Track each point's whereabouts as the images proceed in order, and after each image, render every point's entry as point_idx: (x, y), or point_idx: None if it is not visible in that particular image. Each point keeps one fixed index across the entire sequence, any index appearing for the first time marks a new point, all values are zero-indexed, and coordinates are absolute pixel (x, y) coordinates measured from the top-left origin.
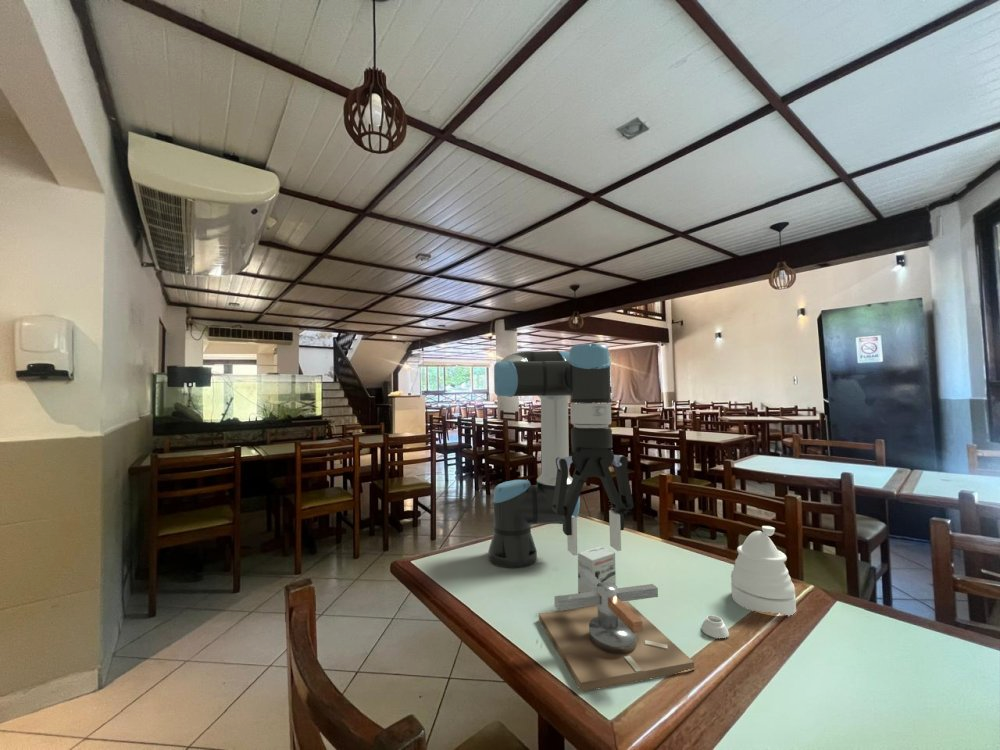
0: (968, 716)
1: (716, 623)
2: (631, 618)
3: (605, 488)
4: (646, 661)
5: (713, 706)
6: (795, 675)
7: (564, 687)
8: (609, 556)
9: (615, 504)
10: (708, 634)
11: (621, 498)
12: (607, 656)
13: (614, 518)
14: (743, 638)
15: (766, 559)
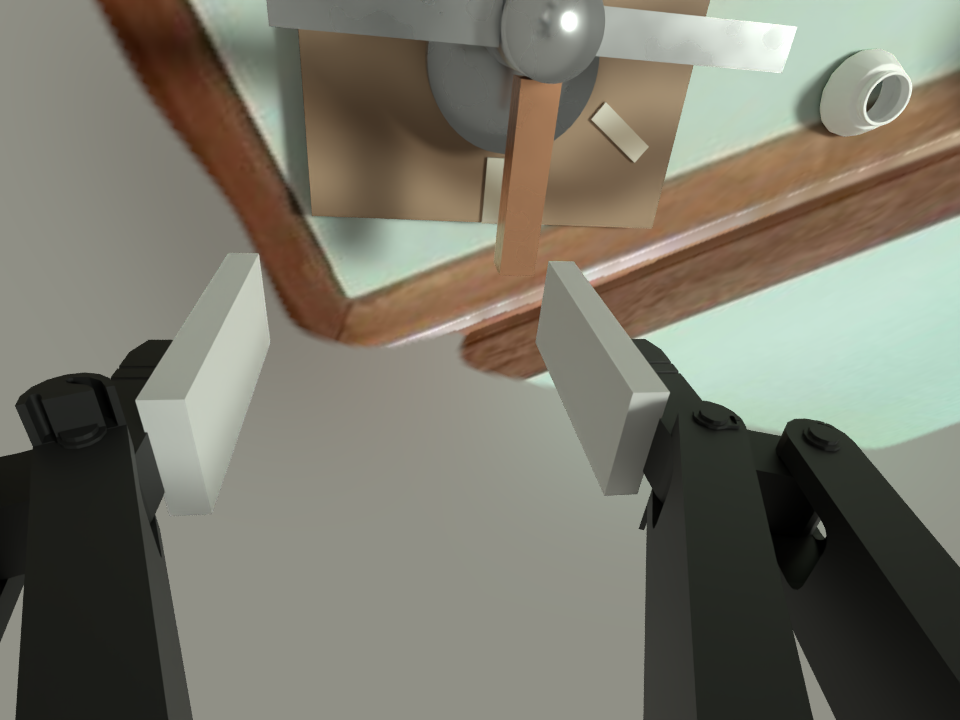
0: (921, 420)
1: (866, 121)
2: (510, 252)
3: (678, 636)
4: None
5: None
6: (822, 292)
7: (274, 178)
8: None
9: (653, 537)
10: (821, 106)
11: (810, 496)
12: (441, 135)
13: (598, 440)
14: (887, 146)
15: None
